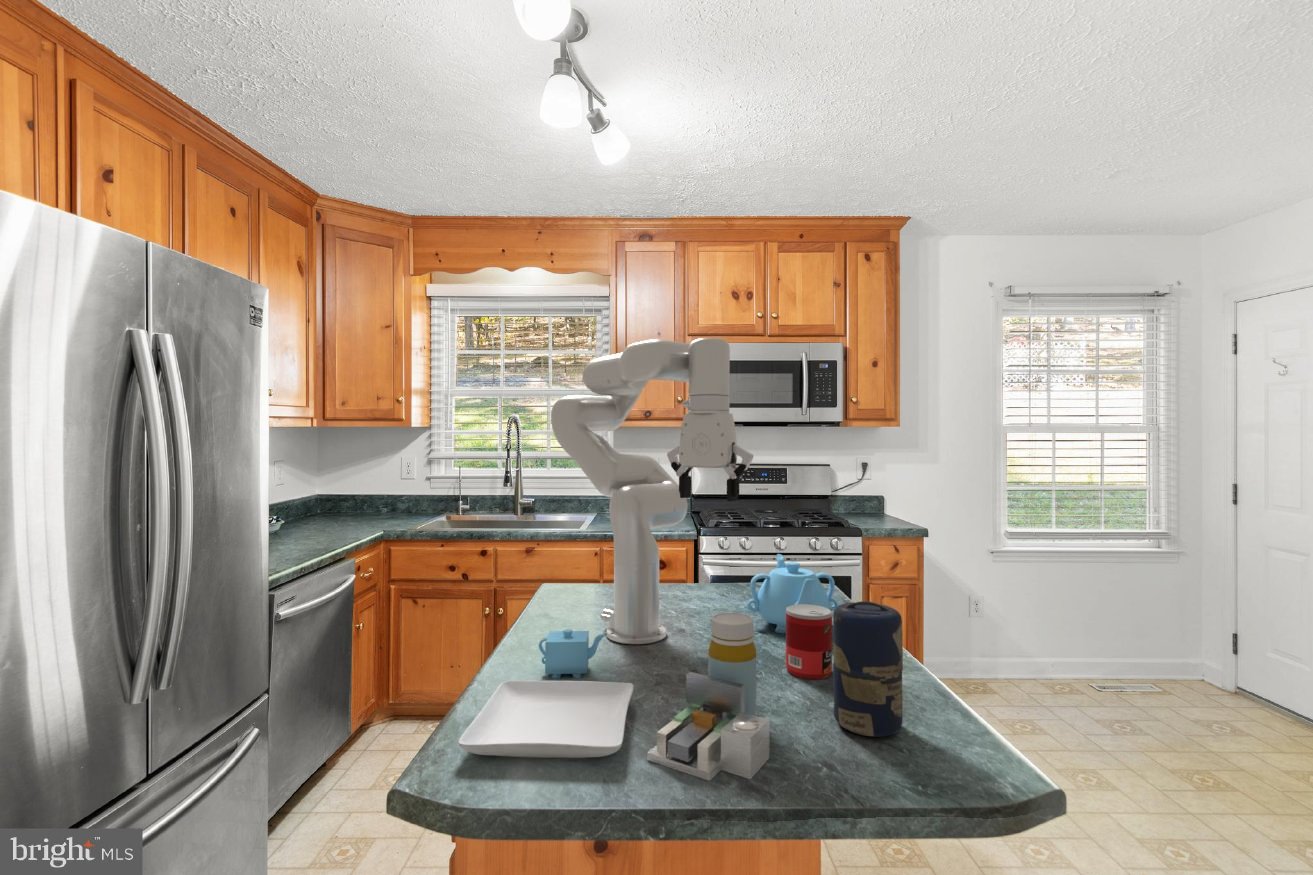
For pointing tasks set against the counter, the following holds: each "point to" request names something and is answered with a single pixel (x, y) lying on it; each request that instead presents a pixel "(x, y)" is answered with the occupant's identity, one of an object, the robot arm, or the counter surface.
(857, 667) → the canister
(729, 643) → the bottle
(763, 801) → the counter surface
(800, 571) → the teapot
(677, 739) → the grey t-shaped piece
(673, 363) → the robot arm
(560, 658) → the teapot
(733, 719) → the gauge body
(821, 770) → the counter surface
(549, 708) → the salad plate
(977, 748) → the counter surface
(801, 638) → the canned food
